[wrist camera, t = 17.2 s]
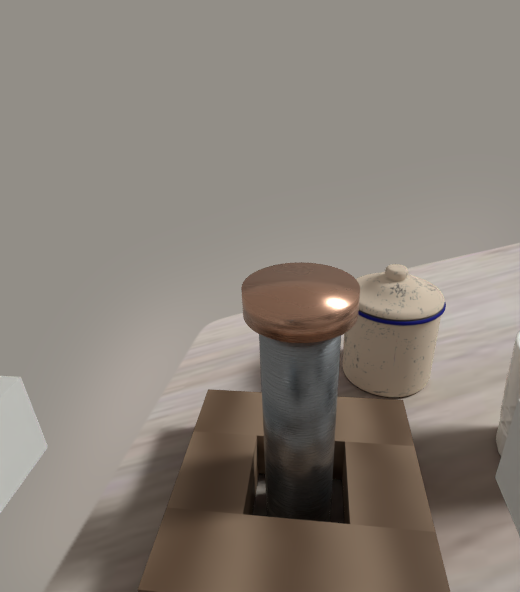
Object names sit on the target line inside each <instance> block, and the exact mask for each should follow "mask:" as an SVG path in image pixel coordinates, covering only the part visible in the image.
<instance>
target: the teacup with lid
mask: <svg viewBox="0 0 520 592" xmlns="http://www.w3.org/2000/svg"><path fill="white" fill-rule="evenodd" d="M356 280H357V281H358V283H359V285H360V299H359V312H358V319H357V322H356V324H355V325H354V326H353V327H352V328H351V329H350V330H349V331H348V332H346V333H344V347H343V363H342V365H343V371H344V373H345V375H346V377H347V378H348V379H349V380H350V381H351V382H352V383H353V384H354V385H355V386H357V387H358V388H360V389H362V390H364V391H366V392H369V393H371V394H375V395H379V396H384V397H404V396H409V395H412V394H415V393H417V392H419V391H420V390H422V389H423V388H424V387H425V386H426V385H427V383H428V381H429V378H430V373H431V368H432V362H433V357H434V351H435V346H436V340H437V335H438V329H439V324H440V318H441V315H442V314H443V312H444V311H445V307H446V304H445V299H444V296H443V294H442V292H441V291H440V290H439V289H438V288H437V287H436V286H435V285H433V284H432V283H430V282H428V281H426V280H423V279H421V278H418V277H415V276H412V275H410V274H408V269H407V268H406V267H405V266H403V265H399V264H392V265H389V266H388V267H387V268H386V270H385V272H382V273H374V274H369V275H365V276H362V277H359V278H357V279H356Z"/></svg>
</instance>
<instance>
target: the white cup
mask: <svg viewBox="0 0 520 592" xmlns="http://www.w3.org/2000/svg"><path fill="white" fill-rule="evenodd" d="M518 399H520V331H519V332H518V334H517V336H516V340H515V344H514V349H513V354H512V358H511V362H510V367H509V371H508V376H507V380H506V385H505V390H504V398H503V401H502V405H501V416H500V422H499V426H498V430H497V434H496V443H497V448H498V452H499V454H500V455H501V456H502V452H503V449H504V446H505V442H506V439H507V436H508V432H509V429H510V425H511V422H512V419H513V415H514V412H515V409H516V405H517V402H518Z"/></svg>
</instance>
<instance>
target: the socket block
mask: <svg viewBox="0 0 520 592" xmlns="http://www.w3.org/2000/svg"><path fill="white" fill-rule="evenodd" d="M259 473H262V474H265V454H264V432H263V409H262V392H245V391H226V390H208V392H207V394H206V397H205V400H204V403H203V406H202V409H201V411H200V414H199V417H198V420H197V423H196V426H195V428H194V431H193V434H192V437H191V440H190V443H189V445H188V448H187V451H186V454H185V457H184V460H183V462H182V465H181V468H180V471H179V474H178V477H177V479H176V482H175V485H174V488H173V491H172V494H171V496H170V499H169V502H168V505H167V508H166V511H165V513H164V516H163V519H162V522H161V525H160V528H159V530H158V533H157V536H156V539H155V542H154V545H153V547H152V550H151V553H150V556H149V559H148V562H147V564H146V567H145V570H144V573H143V576H142V579H141V581H140V584H139V587H138V592H450V589H449V585H448V581H447V576H446V572H445V568H444V564H443V560H442V556H441V552H440V548H439V544H438V540H437V536H436V532H435V528H434V524H433V520H432V516H431V512H430V508H429V504H428V499H427V495H426V491H425V487H424V483H423V479H422V475H421V471H420V467H419V463H418V459H417V455H416V451H415V447H414V443H413V439H412V435H411V431H410V427H409V422H408V418H407V414H406V410H405V406H404V402H403V400H391V399H373V398H355V397H337V411H336V428H335V444H334V461H333V478H332V479H338V480H342V487H343V506H344V524H342V523H331V522H320V521H310V520H299V519H288V518H277V517H266V516H255V515H252V514H253V508H254V501H255V495H256V488H257V482H258V475H259Z"/></svg>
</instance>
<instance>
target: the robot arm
mask: <svg viewBox="0 0 520 592" xmlns="http://www.w3.org/2000/svg"><path fill="white" fill-rule="evenodd" d="M47 448H48V446H47V444H46V441H45V439H44V436H43V434H42V431H41V428H40V425H39V423H38V420H37V418H36V415H35V413H34V410H33V407H32V405H31V402H30V400H29V397H28V395H27V392H26V390H25V387H24V384H23V382H22V379H21V377H13V376H0V513H1V511H2V510H3V509H4V507H5V506H6V505H7V503H8V502H9V500H10V499H11V498H12V496H13V495H14V493H15V492H16V491H17V489H18V488H19V487H20V485H21V484H22V482H23V481H24V479H25V478H26V477H27V475H28V474H29V473H30V471H31V470H32V468H33V467H34V466H35V464H36V463H37V462H38V460H39V459H40V457H41V456H42V455H43V453H44V452H45V450H46V449H47ZM495 479H496V481H497V483H498V486H499V488H500V490H501V493H502V495H503V498H504V500H505V502H506V505H507V507H508V510H509V512H510V514H511V517H512V519H513V522H514V524H515V526H516V529H517V531H518V533H519V536H520V399H518V402H517V405H516V409H515V412H514V415H513V419H512V422H511V425H510V429H509V432H508V436H507V439H506V442H505V446H504V449H503V452H502V456H501V459H500V463H499V466H498V469H497V473H496V476H495Z"/></svg>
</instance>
